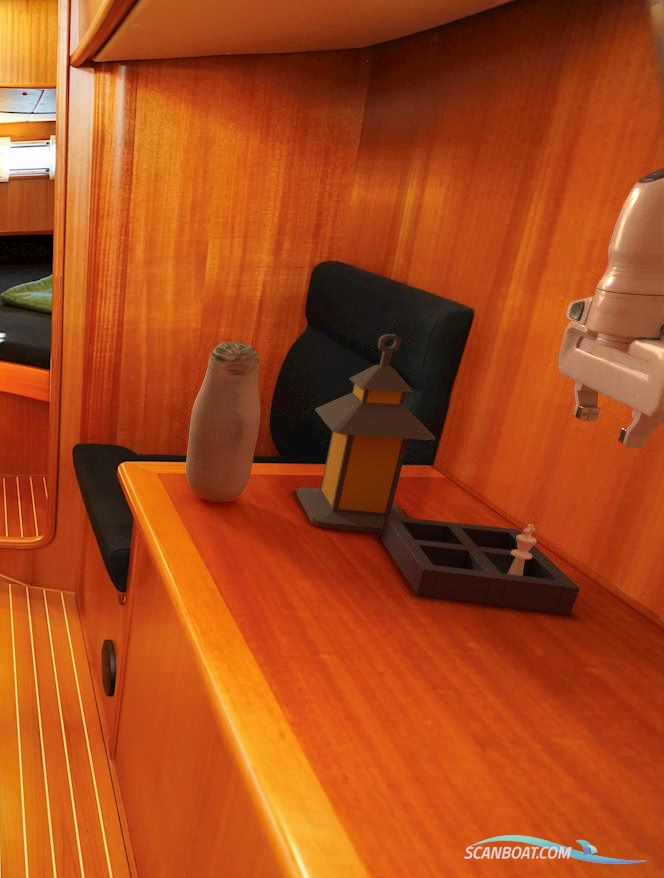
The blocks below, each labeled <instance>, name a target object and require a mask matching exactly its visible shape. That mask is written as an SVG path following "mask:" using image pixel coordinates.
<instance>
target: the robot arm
mask: <svg viewBox="0 0 664 878" xmlns="http://www.w3.org/2000/svg"><path fill="white" fill-rule="evenodd" d="M607 256H608V263H607V266H606V270H605V272H604V274H603V275H602V277H601V279H600V280H598V282H597V285H596V288H595V291H594V295H591V296H588V297H585V298H582V299H581V298H580V299H577V300H573V301H571V302H570V303H569V304H568V305H567V310H566V314H565V317H566V319H568V320H570V322H569V323H568V324H567V325H566V328H565V330H564V333H563V337H562V340H561V345H560V347H559V348H560V350H559V354H558V359H557V366H558V370H559V374H560V375H562V376H563V377H567V378H569V379H571V380H573V381H575V384H574V388H573V390H574V400H575V408H574V411H573V415H572V416H573V417H574V418H576V419H577V420H580V421H582V422H591V423H593V422H595V421H597V420H598V419H599V415H600V412H601V409H602V408H601V407H600V406H598V404H599V393H600V394H602V395H604V396H606V397H608V398H610V399H612V400H614V401H616V402H618V403H620V404H623V405H625V406H626V407H628V408H630V409H633V410H632V412H631V418H632V419H633V420H632V421H631V423H630V424H629V425H628V427H627V428H621V429H620V433H619V437H618V442H619V443H620V444H622V446H623V445H624V446H625V447H627V448H633V449H643V448H645V447H646V446H647V443H648V442H649V438H650V436H651V434H652V433H654V432H655V431H656V430H657V429H658V428H659V427H660V426H661V425H662V424H663V423H664V168H659V169H657V170H654V171H652V172H649V173H648V174H646V175H644V176H642V177H640V179H639V180H637V182H635V184H634V185H633V187H632V188H631V189H630V192H629V193H628V195H627V197H626V199H625V201H624V203H623V205H622V208H621V210H620V211H619V215H618V217H617V220H616V222H615V224H614V228H613V231H612V234H611V238H610V241H609V244H608V247H607Z"/></svg>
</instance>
